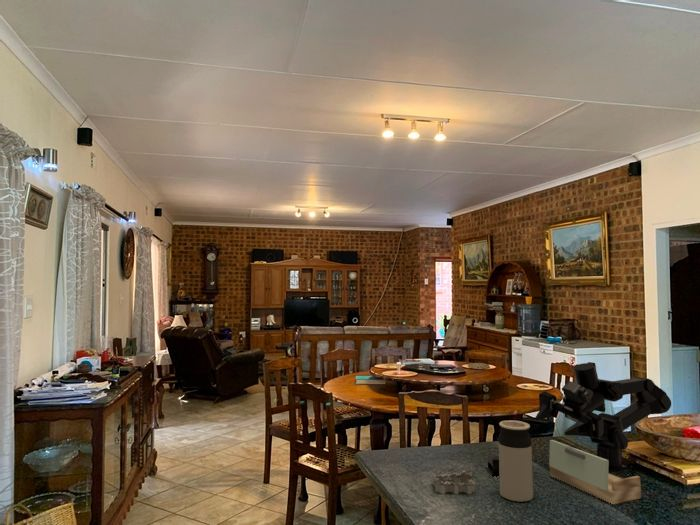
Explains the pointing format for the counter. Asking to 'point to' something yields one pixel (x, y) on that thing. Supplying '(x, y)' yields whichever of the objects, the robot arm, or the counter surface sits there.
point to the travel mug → (515, 461)
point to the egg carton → (454, 482)
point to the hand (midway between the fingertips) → (550, 426)
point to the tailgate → (579, 464)
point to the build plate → (493, 465)
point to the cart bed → (616, 491)
